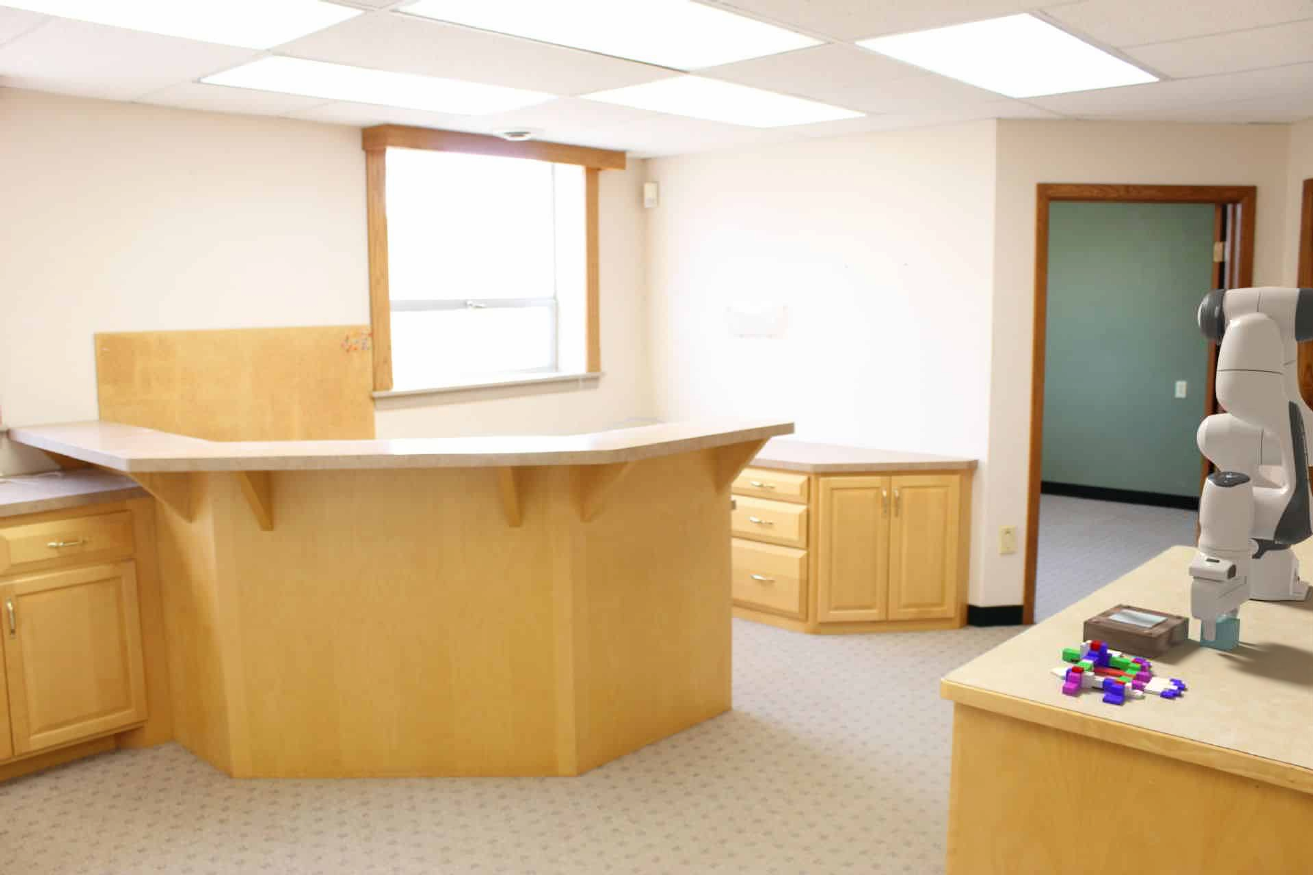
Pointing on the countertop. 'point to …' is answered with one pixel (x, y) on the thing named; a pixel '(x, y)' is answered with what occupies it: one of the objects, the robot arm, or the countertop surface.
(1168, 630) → the plinth
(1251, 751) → the countertop surface
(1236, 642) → the teal block
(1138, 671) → the building block set
